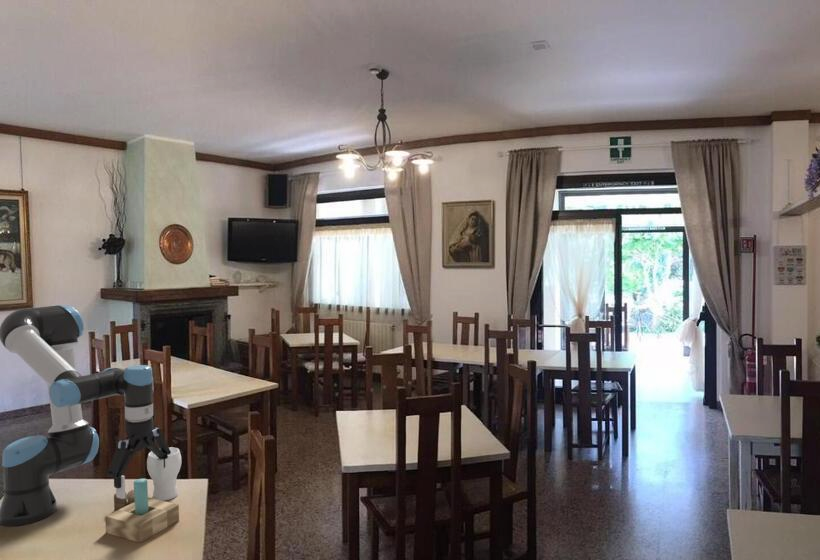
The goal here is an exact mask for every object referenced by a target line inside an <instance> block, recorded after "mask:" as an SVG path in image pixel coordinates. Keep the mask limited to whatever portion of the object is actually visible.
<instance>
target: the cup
mask: <svg viewBox="0 0 820 560" xmlns="http://www.w3.org/2000/svg"><path fill="white" fill-rule="evenodd" d="M168 447H169V446H168ZM169 449H170V451H171V453H170V454H169V455H168V458H167V459H165V468H164V480H163V481H160V480H156V472H155V459H156V458H159V457H157V456H156V455H155V454H154V453H153V452H152V451H151V450H150V452H149V453H148V454H147V459H146V469H147V472H148V475H149V476H150V479H152V481H153V483H152V485H153V493H152V498H153V499H157V500H161V501H165V502H166V501H169V500H172V499H174V498H176V497H177V496H178V495H179V493H178V487H177V477H178V474H179V472H180V470H181V468H182V455H181V451H180V449H179V448H178V447H173V446H171V447H169Z"/></svg>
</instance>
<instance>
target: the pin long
mask: <svg viewBox="0 0 820 560" xmlns="http://www.w3.org/2000/svg"><path fill="white" fill-rule="evenodd" d="M133 490H134V498H135V514H137V515H141V516H142V515H144V514H146V513H148V512H149V507H148V497H149V493H148V490H149V489H148V479H147V478H138V479H135V480H134V481H133Z"/></svg>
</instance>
